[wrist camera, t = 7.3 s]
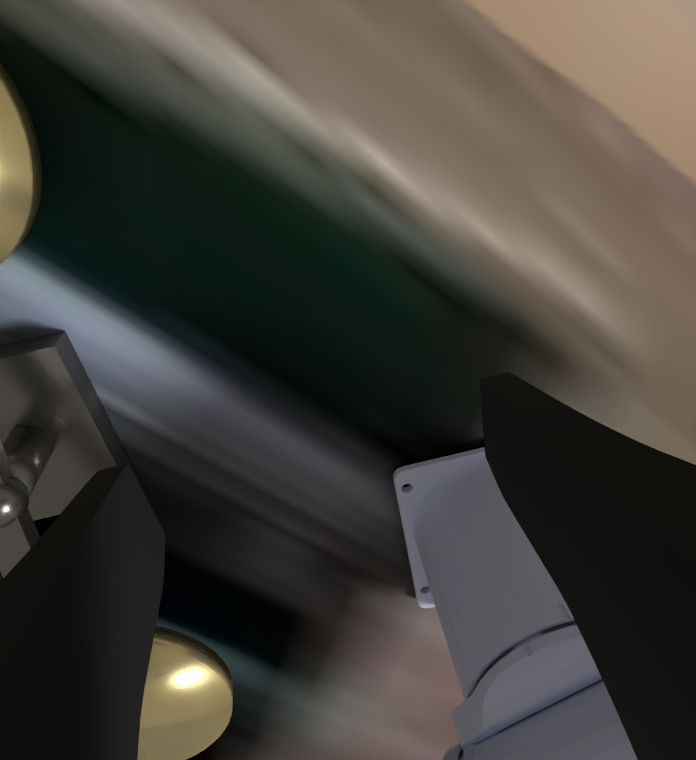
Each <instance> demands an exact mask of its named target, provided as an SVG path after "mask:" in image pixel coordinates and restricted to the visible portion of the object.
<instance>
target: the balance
mask: <svg viewBox="0 0 696 760" xmlns="http://www.w3.org/2000/svg"><path fill="white" fill-rule="evenodd" d="M41 191H42V163H41V154H40V147H39V143H38V139H37V135H36V131H35V128H34V125H33V122H32V120H31V117H30V114H29V112H28V109H27V106H26V104H25V102H24V100H23V98H22V96H21V94H20V93H19V91H18V89H17V87H16V85H15V83H14V82H13V80H12V78H11V77H10V75H9V74H8V72H7V71H6V69H5V68H4V66H3V65H2V63H1V62H0V264H1V263H2V262H4V261H5V260H6V259H7V258H8V257H9V256H10V255H11V254H12V253H13V252H14V251H15V250H16V249H17V248H18V247H19V245H20V244H21V243H22V241H23V240H24V239H25V237H26V236H27V234H28V232H29V230H30V228H31V226H32V224H33V222H34V219H35V216H36V213H37V210H38V207H39V203H40V197H41ZM127 463H129V465H130V467H131V469H132V471H133V473H134V475H135V477H136V479H137V481H138V476H137V474H136V472H135V470H134V468H133V466H132V464H131V462H130V460H129V458H128V456H127V454H126V452H125V450H124V448H123V446H122V444H121V442H120V440H119V438H118V436H117V434H116V432H115V430H114V428H113V426H112V424H111V422H110V420H109V418H108V416H107V414H106V412H105V410H104V408H103V406H102V404H101V402H100V400H99V398H98V396H97V394H96V392H95V390H94V388H93V386H92V384H91V382H90V380H89V378H88V376H87V374H86V372H85V370H84V368H83V366H82V364H81V362H80V360H79V358H78V356H77V354H76V352H75V350H74V348H73V346H72V344H71V342H70V340H69V338H68V336H67V334H66V332H65V331H64V332H60V333H55V334H51V335H47V336H42V337H38V338H34V339H29V340H25V341H21V342H16V343H12V344H8V345H3V346H0V572H1V574H2V576H3V578H4V577H5V576H6V575H7V574H8V573H9V572H10V571H11V570H12V569H13V567H14V566H15V565H16V564H17V563H18V562H19V561H20V560H21V559H22V558H23V557H24V556H25V554H26V553H27V552H28V551H29V550H30V549H31V548H32V547H33V545H34V544H35V543H36V542H37V541H38V540H39V538H40V536H39V534H38V531H37V529H36V526H35V524H34V520H38V519H43V518H47V517H51V516H55V515H60V514H61V513H62V511H63V510H64V509H65V508H66V507H67V505H68V504H69V503H70V502H71V501H72V499H73V498H74V497H75V496H76V495H77V494H78V492H79V491H80V490H81V489H82V488H83V487H84V485H85V484H86V483H87V482H88V481H89V480H90V479H91V478H92V477H93V476H94V475H95V473H96V472H97V471H98V470H102V469H107V468H111V467H115V466H119V465H123V464H127ZM232 702H233V681H232V676H231V674H230V671H229V669H228V667H227V666H226V664H225V663H224V661H223V660H222V659H221V658H220V657H219V656H218V654H217V653H215V652H214V651H213V650H212V649H211V648H209V647H208V646H207V645H205V644H203V643H202V642H200V641H198V640H197V639H194V638H192V637H190V636H188V635H186V634H183V633H180V632H177V631H174V630H171V629H167V628H163V627H159V626H156V628H155V634H154V639H153V645H152V650H151V656H150V661H149V667H148V672H147V678H146V683H145V689H144V695H143V703H142V710H141V718H140V731H139V744H138V757H137V760H186V759H188V758H190V757H192V756H194V755H196V754H198V753H199V752H201V751H203V750H204V749H206V748H207V747H208V746H210V745H211V744H212V743H213V742H214V741H215V740H216V739H217V738H218V737H219V736H220V735H221V734H222V733H223V731H224V730H225V729H226V727H227V725H228V723H229V721H230V717H231V714H232Z"/></svg>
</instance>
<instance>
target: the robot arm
mask: <svg viewBox="0 0 696 760" xmlns="http://www.w3.org/2000/svg"><path fill="white" fill-rule="evenodd" d="M479 380H480V393H481V406H482V420H483V433H484V447H483V448H478V449H474V450H470V451H466V452H462V453H457V454H453V455H449V456H445V457H440V458H436V459H432V460H428V461H424V462H419V463H415V464H411V465H407V466H402V467H400V468H398V469H397V470H395V472H394V474H393V480H394V485H395V491H396V496H397V501H398V506H399V511H400V516H401V521H402V526H403V532H404V537H405V542H406V547H407V552H408V557H409V562H410V567H411V573H412V578H413V583H414V588H415V593H416V598H417V602H418V605H419V606H420V607H422V608H430V607H434V606H436V609H437V612H438V616H439V619H440V622H441V625H442V628H443V632H444V635H445V638H446V641H447V644H448V647H449V651H450V654H451V657H452V660H453V663H454V667H455V670H456V673H457V676H458V679H459V682H460V686H461V689H462V692H463V695H464V698H465V701H464V702H463V703H462V704H461V705H459V706H457V707H456V708H454V709H452V711H451V714H452V717H453V721H454V724H455V728H456V731H457V735H458V738H459V742H460V744H458V745H456V746H454V747H452V748H450V749H449V750H448V751H447V753H446V754H445V755H444V758H443V760H696V465H694V464H692V463H689V462H686V461H684V460H681V459H679V458H676V457H674V456H671V455H668V454H666V453H663V452H661V451H658V450H656V449H654V448H651V447H649V446H647V445H644V444H642V443H640V442H638V441H636V440H633V439H631V438H629V437H627V436H625V435H623V434H621V433H619V432H617V431H614V430H612V429H610V428H608V427H606V426H604V425H602V424H600V423H598V422H596V421H594V420H593V419H591V418H589V417H587V416H585V415H583V414H581V413H580V412H578V411H576V410H574V409H572V408H570V407H569V406H567V405H565V404H563V403H562V402H560V401H558V400H556V399H555V398H553V397H551V396H549V395H548V394H546V393H544V392H543V391H541V390H539V389H537V388H536V387H534V386H532V385H531V384H529V383H527V382H526V381H524V380H522V379H520V378H519V377H517V376H515V375H513V374H512V373H510V372H507V373H503V374H498V375H494V376H490V377H486V378H482V379H479ZM405 484H410V485H409V486H407V487H402V486H403V485H405ZM164 562H165V533H164V531H163V529H162V527H161V525H160V523H159V521H158V519H157V517H156V516H155V514H154V512H153V510H152V508H151V506H150V504H149V502H148V500H147V498H146V496H145V494H144V492H143V490H142V488H141V487H140V485H139V483H138V481H137V479H136V477H135V475H134V473H133V471H132V469H131V467H130V465H129V463H127V464H123V465H119V466H115V467H111V468H107V469H102V470H98V471H97V472H96V473H95V475H94V476H93V477H92V478H91V479H90V480H89V481H88V482H87V483H86V484H85V485H84V487H83V488H82V489H81V490H80V491H79V492H78V494H77V495H76V496H75V497H74V498H73V499H72V501H71V502H70V503H69V504H68V505H67V507H66V508H65V509H64V510H63V511H62V513H61V514H60V515H59V516H58V517H57V518H56V520H55V521H54V522H53V523H52V524H51V525H50V527H49V528H48V529H47V530H46V531H45V533H44V534H43V535H42V536H41V537H40V538H39V540H38V541H37V542H36V543H35V544H34V545H33V547H32V548H31V549H30V550H29V551H28V552H27V553H26V554H25V556H24V557H23V558H22V559H21V560H20V561H19V562H18V563H17V564H16V565H15V566H14V567H13V569H12V570H11V571H10V572H9V573H8V574H7V575H6V576H5V577H4V578H3V579H2V581H1V582H0V760H137V757H138V744H139V731H140V718H141V710H142V703H143V695H144V689H145V683H146V678H147V672H148V667H149V661H150V656H151V650H152V645H153V639H154V634H155V628H156V623H157V617H158V611H159V605H160V599H161V594H162V587H163V581H164Z"/></svg>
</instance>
